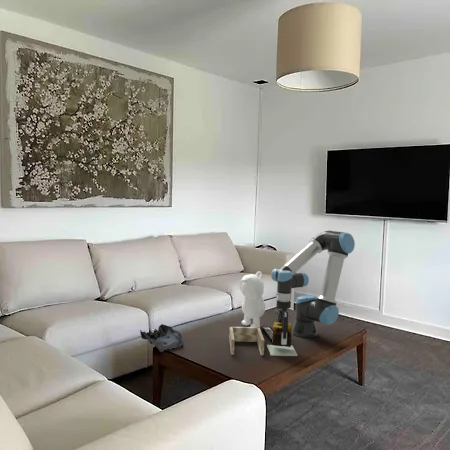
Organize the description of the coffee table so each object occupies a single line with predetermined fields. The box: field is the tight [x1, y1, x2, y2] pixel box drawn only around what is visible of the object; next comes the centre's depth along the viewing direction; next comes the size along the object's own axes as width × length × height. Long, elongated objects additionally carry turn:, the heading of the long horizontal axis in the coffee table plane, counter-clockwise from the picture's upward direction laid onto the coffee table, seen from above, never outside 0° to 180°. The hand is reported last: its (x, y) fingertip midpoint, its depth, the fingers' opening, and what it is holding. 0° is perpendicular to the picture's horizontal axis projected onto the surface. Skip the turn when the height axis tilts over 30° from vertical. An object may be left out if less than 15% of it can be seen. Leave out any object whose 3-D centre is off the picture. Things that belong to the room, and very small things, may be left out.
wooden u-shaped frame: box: [228, 326, 265, 356], centre depth 230 cm, size 17×21×8 cm
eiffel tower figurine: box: [273, 306, 291, 316], centre depth 298 cm, size 15×10×13 cm
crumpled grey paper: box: [139, 324, 185, 353], centre depth 230 cm, size 18×20×9 cm
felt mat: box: [266, 344, 298, 357], centre depth 228 cm, size 14×14×1 cm
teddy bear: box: [239, 270, 266, 328], centre depth 266 cm, size 19×18×35 cm
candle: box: [271, 321, 293, 347], centre depth 227 cm, size 10×10×10 cm
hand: (281, 340), depth 227 cm, fingers closed on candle, 11 cm apart
